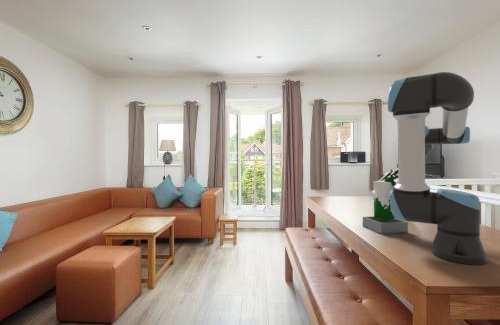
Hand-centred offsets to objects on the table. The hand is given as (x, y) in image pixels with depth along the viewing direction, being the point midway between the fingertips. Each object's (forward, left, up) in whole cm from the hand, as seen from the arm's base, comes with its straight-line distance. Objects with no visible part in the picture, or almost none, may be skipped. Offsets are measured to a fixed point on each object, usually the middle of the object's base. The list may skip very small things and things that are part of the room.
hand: (380, 195), depth 125 cm
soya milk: (0, -2, -11) cm, 11 cm away
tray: (0, -2, -17) cm, 17 cm away
